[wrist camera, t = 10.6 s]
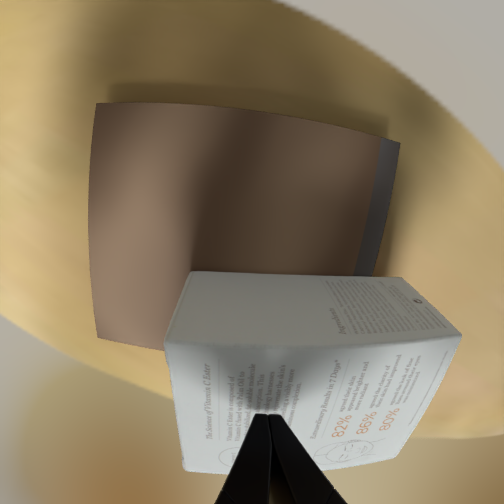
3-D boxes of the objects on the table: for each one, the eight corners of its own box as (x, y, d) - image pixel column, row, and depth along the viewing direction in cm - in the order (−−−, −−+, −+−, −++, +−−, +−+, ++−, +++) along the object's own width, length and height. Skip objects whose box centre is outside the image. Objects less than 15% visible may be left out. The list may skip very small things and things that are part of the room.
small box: (405, 275, 14) (189, 264, 13) (468, 334, 9) (157, 336, 8) (366, 392, 16) (193, 392, 16) (396, 460, 11) (180, 471, 11)
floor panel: (386, 142, 13) (400, 143, 12) (334, 351, 17) (341, 366, 16) (109, 106, 12) (96, 103, 11) (107, 323, 16) (97, 337, 15)
